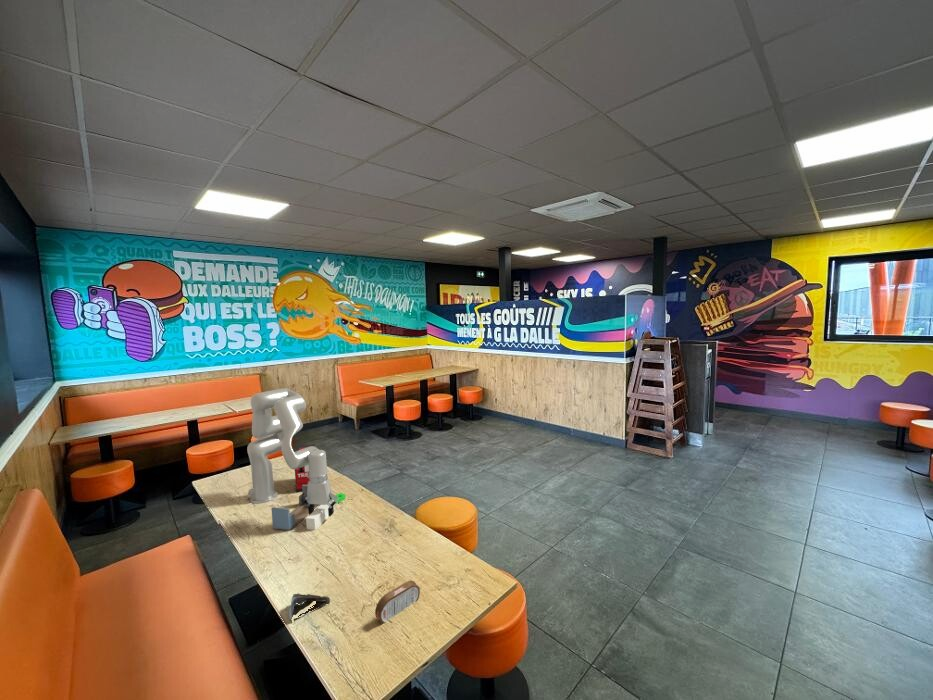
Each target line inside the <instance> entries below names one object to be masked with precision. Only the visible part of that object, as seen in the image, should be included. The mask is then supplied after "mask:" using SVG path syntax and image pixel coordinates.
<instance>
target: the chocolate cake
mask: <svg viewBox="0 0 933 700" xmlns="http://www.w3.org/2000/svg"><path fill="white" fill-rule="evenodd" d="M306 600H307V601H309V602H312V601H316V604H315V605H313V606H314V607H313V606H312V607H313V608H311V607H310V608H311V609H308V611H306V612H305V613H302V614H306V613H308V612H309V611H312V610H314V609H316V608H318V607H320V608H322V607H324V606H326V605H325V604H329V605H330V602H331V599H330V597H329V596H325V595H322V596H320V595H316V594H310V593H307V594H302V593H299V592H297V593H294V594H293V595H292V597H291V601H290V606H289V611H288V614H289V619H292V617H293V614H294V609H295V608H294V606H295V604H296V603H298V604H302V603H303V602H306V603H307V601H306ZM302 605H303V604H302ZM323 605H324V606H323ZM321 606H322V607H321ZM295 607H296V606H295ZM318 609H319V608H318ZM316 610H317V609H316ZM314 611H315V610H314ZM312 612H313V611H312ZM302 614H300V615H299V616H301V615H302ZM308 614H309V613H308ZM306 615H307V614H306ZM299 616H298V617H299Z"/></svg>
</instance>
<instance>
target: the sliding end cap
mask: <svg viewBox="0 0 933 700" xmlns="http://www.w3.org/2000/svg"><path fill="white" fill-rule="evenodd" d="M290 513H291V512H290V508H286V507H285V508H283V507H272V508H271V518H272V529H273V528H277V529H276V530H279V529H288V530H287V531H291V530H290V529H291V528H292V527H293V526H294V525H295V514H292V515H291V516H290Z"/></svg>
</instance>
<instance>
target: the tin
mask: <svg viewBox="0 0 933 700" xmlns="http://www.w3.org/2000/svg"><path fill="white" fill-rule="evenodd" d="M420 593H421V589H420V587H419V585H418V584H417V583H416V582H415V581H414V580H408V581H405V582H403V583H402V584H400V585H399V586H396V587H394V589H391V590H390V591H388V592H387V593H385V594H383V595H382V597H381V598H380V599H379V601H378V603H377V604H376V607H375V609H374V614H375V617H376V618H377V619H378V621H380V623H381V624H385V623H386V622H387V621H389V620H390V619H391V618H393V617H395V616H396V615H398V614H400V613H401V612H403V611H404V610H405V609H407V608H409V607H410V606H412V605H413V604H414V603H416V602H418V600H419V599H420ZM399 612H400V613H399Z"/></svg>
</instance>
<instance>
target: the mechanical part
mask: <svg viewBox="0 0 933 700" xmlns="http://www.w3.org/2000/svg"><path fill="white" fill-rule="evenodd" d="M334 495H335V496H337V497H338V500H337V502H336V503H335V505H336V504H338V503H341V502H342V501H344V500H346V494H345V493H343V492H339V493H336V494H334ZM332 500H334V499H332Z"/></svg>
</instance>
